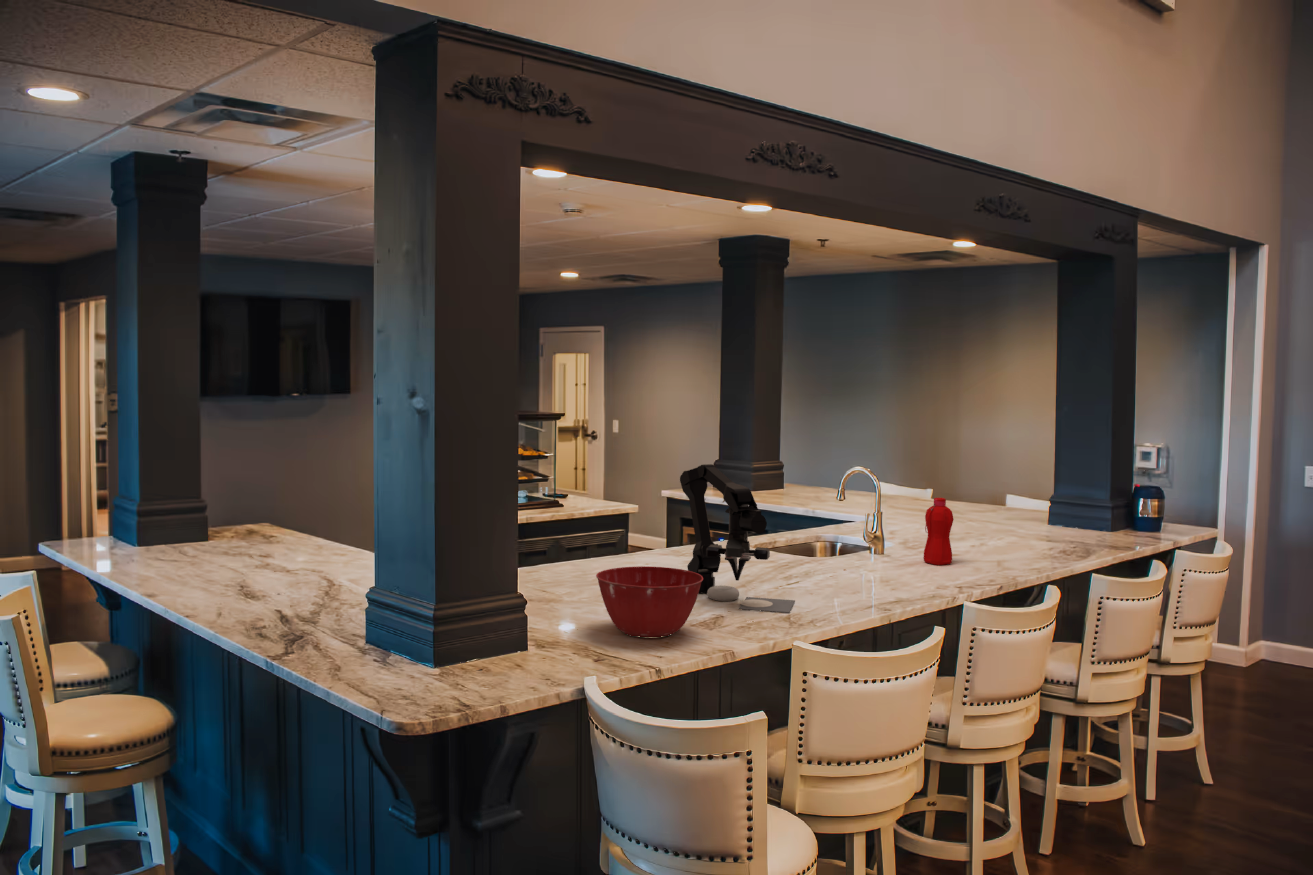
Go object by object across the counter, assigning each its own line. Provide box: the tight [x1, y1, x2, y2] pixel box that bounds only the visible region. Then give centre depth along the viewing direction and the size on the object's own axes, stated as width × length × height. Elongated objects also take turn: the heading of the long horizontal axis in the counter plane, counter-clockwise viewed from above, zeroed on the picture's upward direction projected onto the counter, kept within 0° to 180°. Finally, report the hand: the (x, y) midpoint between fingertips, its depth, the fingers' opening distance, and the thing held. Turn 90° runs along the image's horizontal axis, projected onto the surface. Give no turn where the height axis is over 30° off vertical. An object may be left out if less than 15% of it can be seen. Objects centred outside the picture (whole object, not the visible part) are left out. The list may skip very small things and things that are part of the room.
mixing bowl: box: [595, 566, 703, 637], centre depth 258 cm, size 28×28×15 cm
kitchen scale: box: [738, 596, 796, 614], centre depth 292 cm, size 16×16×1 cm
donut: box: [706, 585, 740, 602], centre depth 300 cm, size 10×4×10 cm
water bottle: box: [922, 497, 954, 566], centre depth 366 cm, size 9×11×25 cm
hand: (737, 580), depth 293 cm, fingers closed
